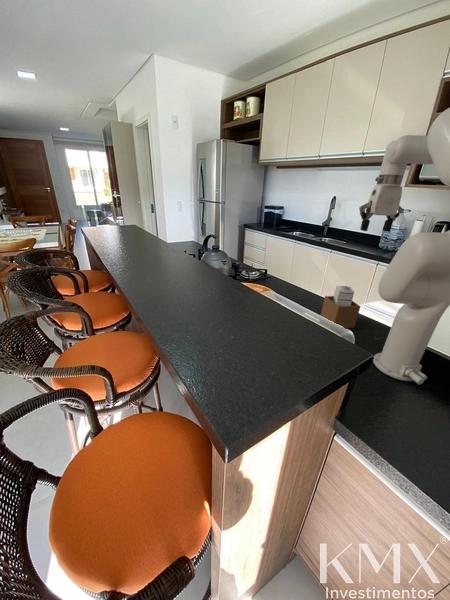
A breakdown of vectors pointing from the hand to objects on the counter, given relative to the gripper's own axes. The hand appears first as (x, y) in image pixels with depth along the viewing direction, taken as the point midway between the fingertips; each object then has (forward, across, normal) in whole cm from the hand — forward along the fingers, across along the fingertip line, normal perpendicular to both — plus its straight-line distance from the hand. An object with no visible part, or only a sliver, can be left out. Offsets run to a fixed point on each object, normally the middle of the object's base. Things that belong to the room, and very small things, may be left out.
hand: (374, 230), depth 95 cm
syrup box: (+36, -10, -6) cm, 38 cm away
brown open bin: (+36, -10, -6) cm, 38 cm away
